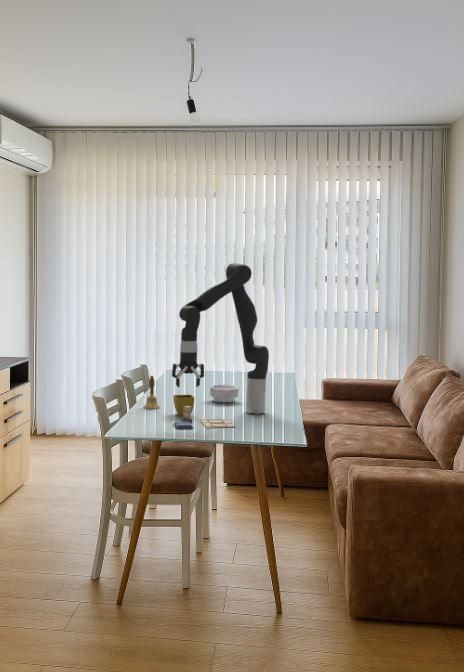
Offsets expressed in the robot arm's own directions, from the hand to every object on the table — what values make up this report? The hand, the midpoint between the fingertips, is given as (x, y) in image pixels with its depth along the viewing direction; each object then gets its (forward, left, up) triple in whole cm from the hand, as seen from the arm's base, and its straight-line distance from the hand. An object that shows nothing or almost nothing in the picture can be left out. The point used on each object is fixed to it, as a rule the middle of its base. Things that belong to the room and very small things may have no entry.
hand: (187, 386), depth 290 cm
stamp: (0, 0, -16) cm, 16 cm away
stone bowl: (-49, +28, -16) cm, 59 cm away
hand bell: (-35, -12, -16) cm, 41 cm away
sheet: (+5, +13, -16) cm, 21 cm away
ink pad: (+9, -3, -16) cm, 19 cm away
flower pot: (-16, +1, -16) cm, 23 cm away
